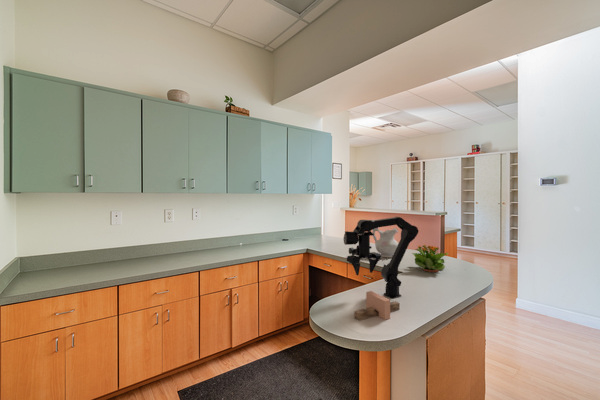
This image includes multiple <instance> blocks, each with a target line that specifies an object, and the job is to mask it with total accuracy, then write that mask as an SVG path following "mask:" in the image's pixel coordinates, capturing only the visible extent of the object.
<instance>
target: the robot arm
mask: <svg viewBox="0 0 600 400" xmlns="http://www.w3.org/2000/svg"><path fill="white" fill-rule="evenodd" d="M391 226H397V227H398V228H399V229H400V230H401V231H400V240H399V242H398V246H397V248H396V250H395V252H394V254H393V257H392V258H391V259H390V262H388V264H383V266H382V269H381V270H380V275H381V277H382V278H383V280H384V282H385V292H384V293H383V295H385V296H387V297H389V298H391V299H395V298H399V297H402V294H400V287H401V285H402V281H401V279H399V278H398V275H399V267H400V264H401V262H402V260H403V258H404V256H405V253H406V251H407V249H408V247H409V245H410V243H411V242H412V241H414V240H415V239H416V237H417V236H418V234H419V228H418V227H417V226H415V225H414V224H413V225H412V224H411V223H409V222H408V221H407V220H405V219H404V218H402V216H394V217H388V218H380V219H359V220H358V222H357V224H356V226H355V228H354V230H353V231H347V230H345V231H344V235H343V243H344V245H348V246H350V245H356V248H354V247H349V248H348V253H349V255H348V256H346V262H348V263H349V264H351V265H352V266H353V269H354V272H355V275H356V276H359V275H360V268H361V261H362V260H367V261H368V262H369V272H370V273H371V274H372V273H373V272H374V269H375V267H376V265H378V263H379V261H380V260H381V259H382V257H381V253H379V252H375V251H374V252H373V251H372V252H371V250H370V249H372V246H371V244H370V243H371V242H370V241H371V239H370V238H371V236H372V237H373V235H374V234H373V233H372V231H373V229H375V228H378V229H379V228H384V227H391ZM357 244H358V245H357Z"/></svg>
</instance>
